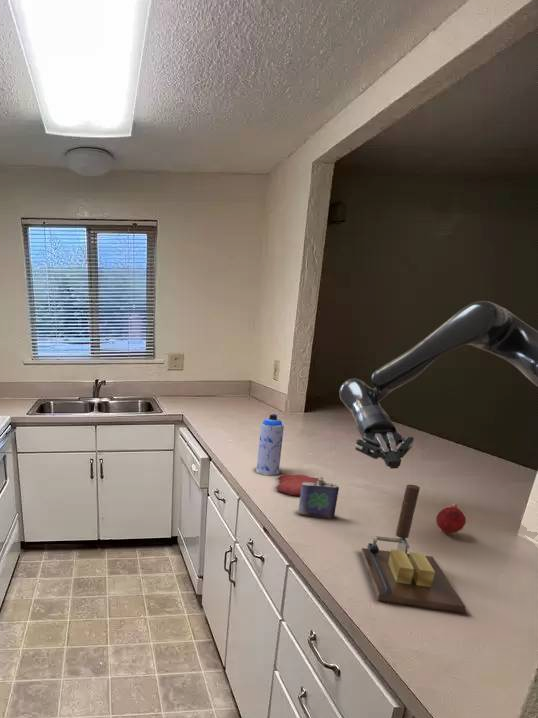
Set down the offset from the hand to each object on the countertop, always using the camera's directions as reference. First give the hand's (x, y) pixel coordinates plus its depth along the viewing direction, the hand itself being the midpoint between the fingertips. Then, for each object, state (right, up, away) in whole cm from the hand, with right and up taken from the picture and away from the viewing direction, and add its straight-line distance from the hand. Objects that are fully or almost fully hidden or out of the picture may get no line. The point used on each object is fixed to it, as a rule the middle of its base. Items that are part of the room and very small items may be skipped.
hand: (395, 465), depth 97 cm
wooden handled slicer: (-3, -20, -3) cm, 20 cm away
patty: (-6, -6, +40) cm, 41 cm away
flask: (-9, -13, +21) cm, 26 cm away
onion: (+19, -17, +10) cm, 27 cm away
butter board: (-3, -24, -8) cm, 25 cm away
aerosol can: (-12, -1, +54) cm, 55 cm away
